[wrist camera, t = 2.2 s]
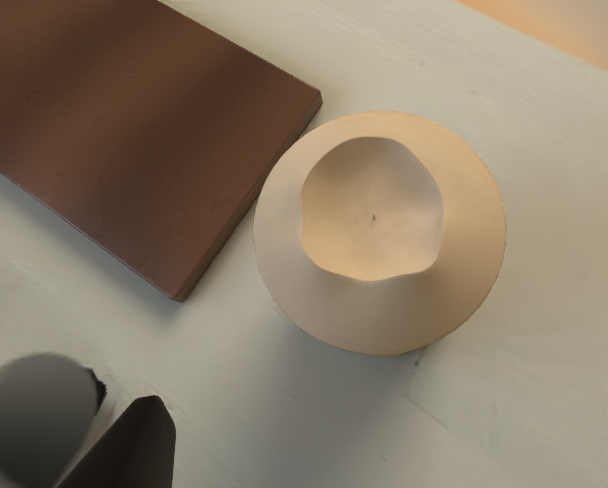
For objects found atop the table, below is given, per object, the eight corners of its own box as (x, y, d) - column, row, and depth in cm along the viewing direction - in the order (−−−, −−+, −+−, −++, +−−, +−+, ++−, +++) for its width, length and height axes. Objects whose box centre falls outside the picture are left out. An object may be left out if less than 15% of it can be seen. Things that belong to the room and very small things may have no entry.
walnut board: (324, 102, 22) (320, 90, 21) (182, 303, 21) (173, 300, 20) (0, -80, 27) (-15, -97, 26) (-125, 76, 26) (-145, 65, 25)
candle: (487, 298, 19) (591, 236, 9) (363, 386, 19) (339, 415, 9) (395, 183, 20) (402, 27, 11) (280, 265, 20) (185, 182, 11)
